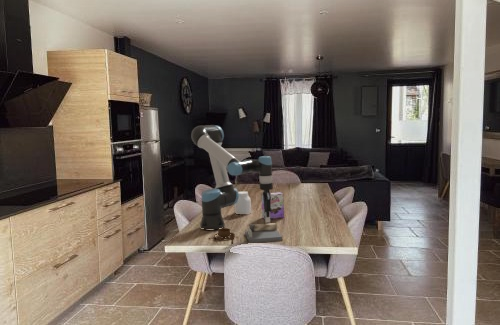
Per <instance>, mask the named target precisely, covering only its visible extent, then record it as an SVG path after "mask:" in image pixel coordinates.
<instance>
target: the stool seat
mask: <svg viewBox="0 0 500 325" xmlns="http://www.w3.org/2000/svg"><path fill="white" fill-rule="evenodd" d="M244 234H246V235H245V237H246V239H247V241H248V243H249V244H254V243H253V242H255V243H266V242H278V241H279V242H281V241H283V236H282V234H281V233H280V232H279V231H278V228H277V229H275V230H262V231H251V229H250V228H248V229H247V230H244Z"/></svg>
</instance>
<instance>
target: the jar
mask: <svg viewBox="0 0 500 325" xmlns="http://www.w3.org/2000/svg"><path fill="white" fill-rule="evenodd" d="M238 193H239V198H238V201H237V202H236V203H235V204H234V214H235V213H236V214H249V215H251V214H252V206H251V205H252V200H251V199H252V198H251V197H250V196H249V192H248V191H238ZM250 213H251V214H250ZM236 214H235V215H236Z"/></svg>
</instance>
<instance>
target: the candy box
mask: <svg viewBox="0 0 500 325" xmlns="http://www.w3.org/2000/svg"><path fill="white" fill-rule="evenodd" d="M270 194H271V195H270V196H271V211H270V220H272V219H282V218H285V210H284V209H285V208H284V204H285V203H284V193H282V192H270ZM264 211H265V209H264V200H263V193H261V218H262V219H264V220H265V212H264Z"/></svg>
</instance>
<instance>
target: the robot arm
mask: <svg viewBox="0 0 500 325" xmlns="http://www.w3.org/2000/svg"><path fill="white" fill-rule="evenodd" d="M190 136H191V140H192V142H193V144H194V145H196V146H197V147H198V148H199V149H202V150H205V151H206V152H207V153H208V156H209V158H210V164H211V168H212V172H213V176H214V180H215V184H216V185H215V187H214V188H209V189H206V190H204V191H202V193H201V212H202V217H201V220H200V224H199V225H200V226H199V228H200V227H201V228H204V229H219V228H222V227H224V226H225V227H226V225H225V220H224V218H223V215H222V209H223V208H228V207H232V206H235V203H236V202H237V201H238V198H239V193H238V192H239V191H238V189H237V188H236V187H235V186H233V183H231V181H230V178H229V175H230V176H240V175H244V174H250V173H258V174H259V176H258V177H259V178H258V179H259V189H260V190H261V191H263V192H262V194H263V200H264V209H265V211H264V212H265V219H264V220H265V221H264V222H265V224H268V223H271V219H270V211H271V196H270V195H271V194H270V193H271V192H270V190H273V185H274V184H273V179H274V176H273V162H272V157H271V156H270V155H269V156H268V155H263V156H259V157H258V159H252V158H251V159H250V158H248V159H244V160H241V161H240V160H239V159H238V158H236V157H235V156H234V155H233V154H232V153H230V152H229V151H227V150H226V149H225V148H224V147H222V144H223V140H224V137H225V134H224V130H223V129H222V127H221V126H220V125H215V124H210V125H209V124H208V125H207V124H206V125H197V126H196V127H194V128H193V129H192V131H191V135H190ZM228 174H229V175H228ZM225 227H224V228H225ZM222 229H223V228H222Z"/></svg>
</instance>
